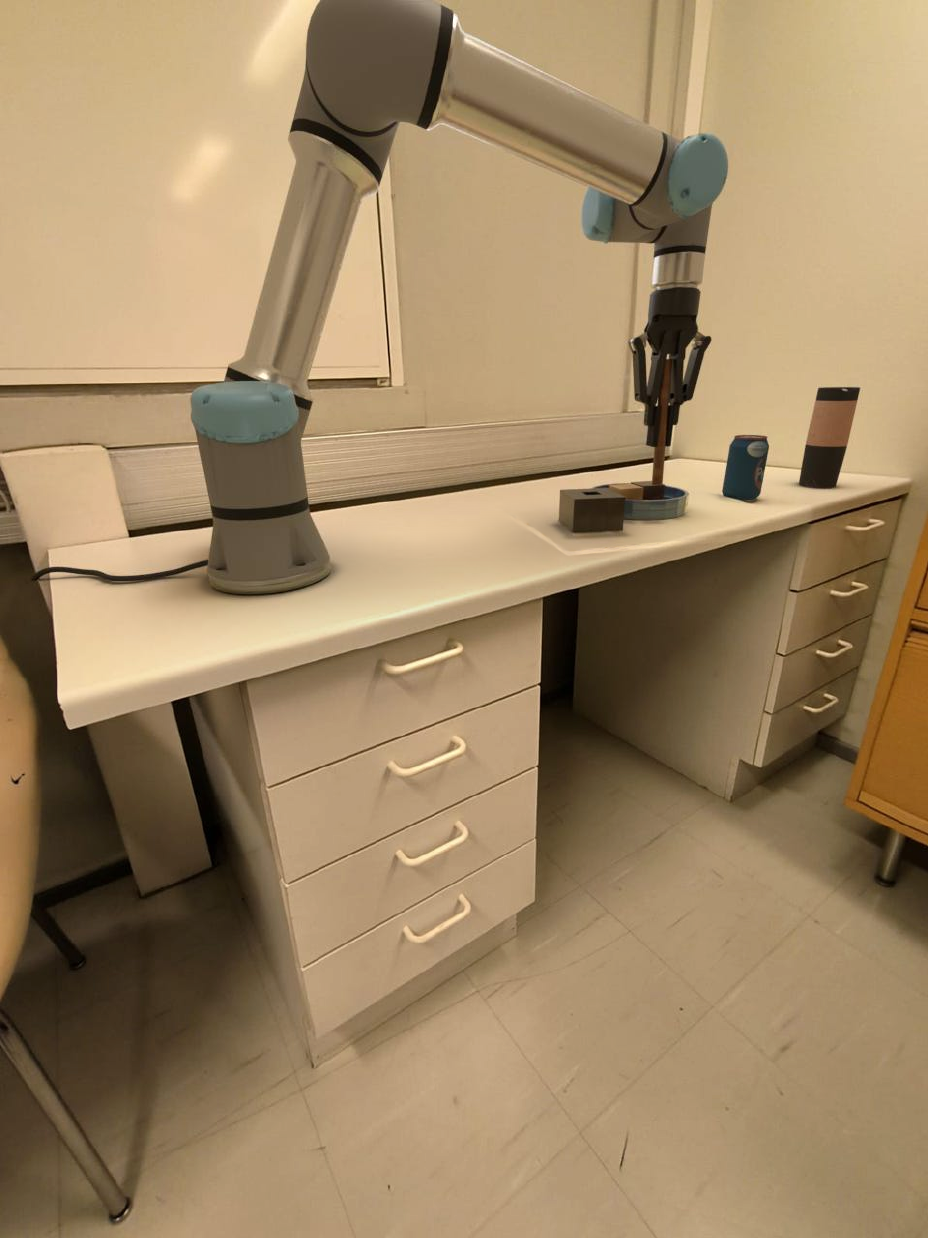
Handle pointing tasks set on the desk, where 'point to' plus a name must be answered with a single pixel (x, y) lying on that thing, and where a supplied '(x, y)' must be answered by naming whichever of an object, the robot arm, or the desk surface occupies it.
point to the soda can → (745, 467)
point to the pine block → (628, 491)
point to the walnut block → (651, 490)
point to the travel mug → (828, 436)
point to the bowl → (656, 505)
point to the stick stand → (591, 510)
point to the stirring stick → (662, 424)
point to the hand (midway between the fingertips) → (658, 445)
